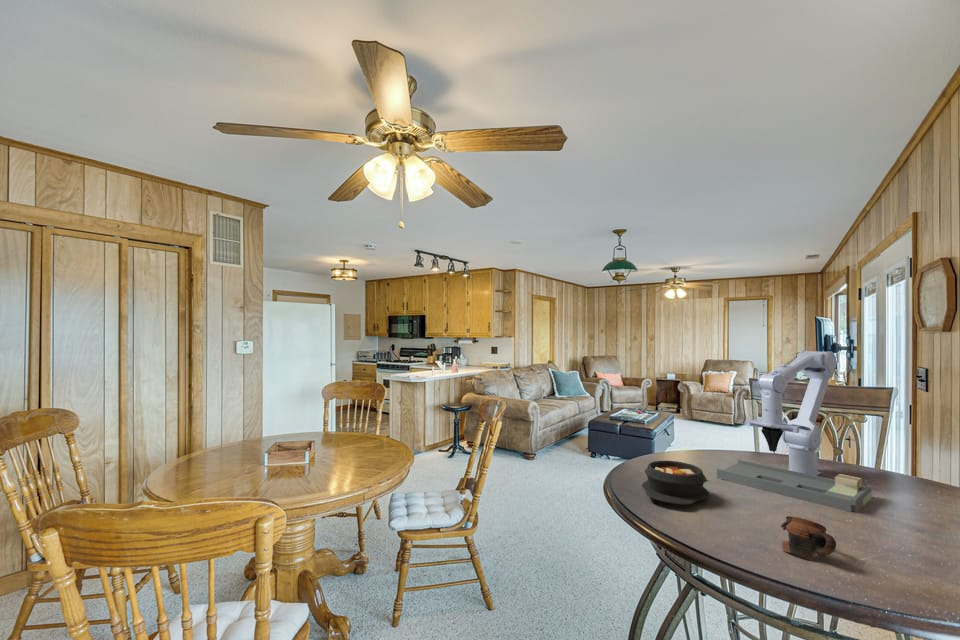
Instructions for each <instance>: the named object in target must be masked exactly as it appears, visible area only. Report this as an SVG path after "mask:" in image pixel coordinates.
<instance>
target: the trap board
mask: <svg viewBox="0 0 960 640" xmlns="http://www.w3.org/2000/svg"><path fill="white" fill-rule="evenodd" d="M737 461H738V462H737V463H735V464H733V465H730V466H728V467H726V468H723V469H721V468H717V469H716V478H717V479H718V478H721V479H720V480H722V479H724V480H723V481H726V480H728V481H727V482H730V481H732V483H734V482H735V484H738V483H739V485H743V486H746V487H751V488H755V489H759V490H761V491H765V492H766V491H767V492H771V493H775V494H777V495H782V496H787V497H791V498H794V499H798V500H803V501H806V502H809V503H814V504H819V505H821V506H826V507H830V508H834V509H836V510H837V509H838V510H841V511H846V512H849V513H852V512H854V513H858V512H859V510H861V509H862V508H863V507H864V506H865V505H866V504H867V503H868V502H870V500H871V499H872V498H873V497H872V496H873V493H872V485H869V484H866V485H862V490H861V491H859V492H858V493H857V494H856V495H852V494H847V493H843V492H838V491H835V479H832V478H828V477H824V476H819V475H817V476H814V475H809V474H805V473H800V472H795V471H791V470H788V469H785V468H780V467H776V466H771V465H765V464H761V463H756V462H752V461H748V460H742V459H738V460H737Z"/></svg>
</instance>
